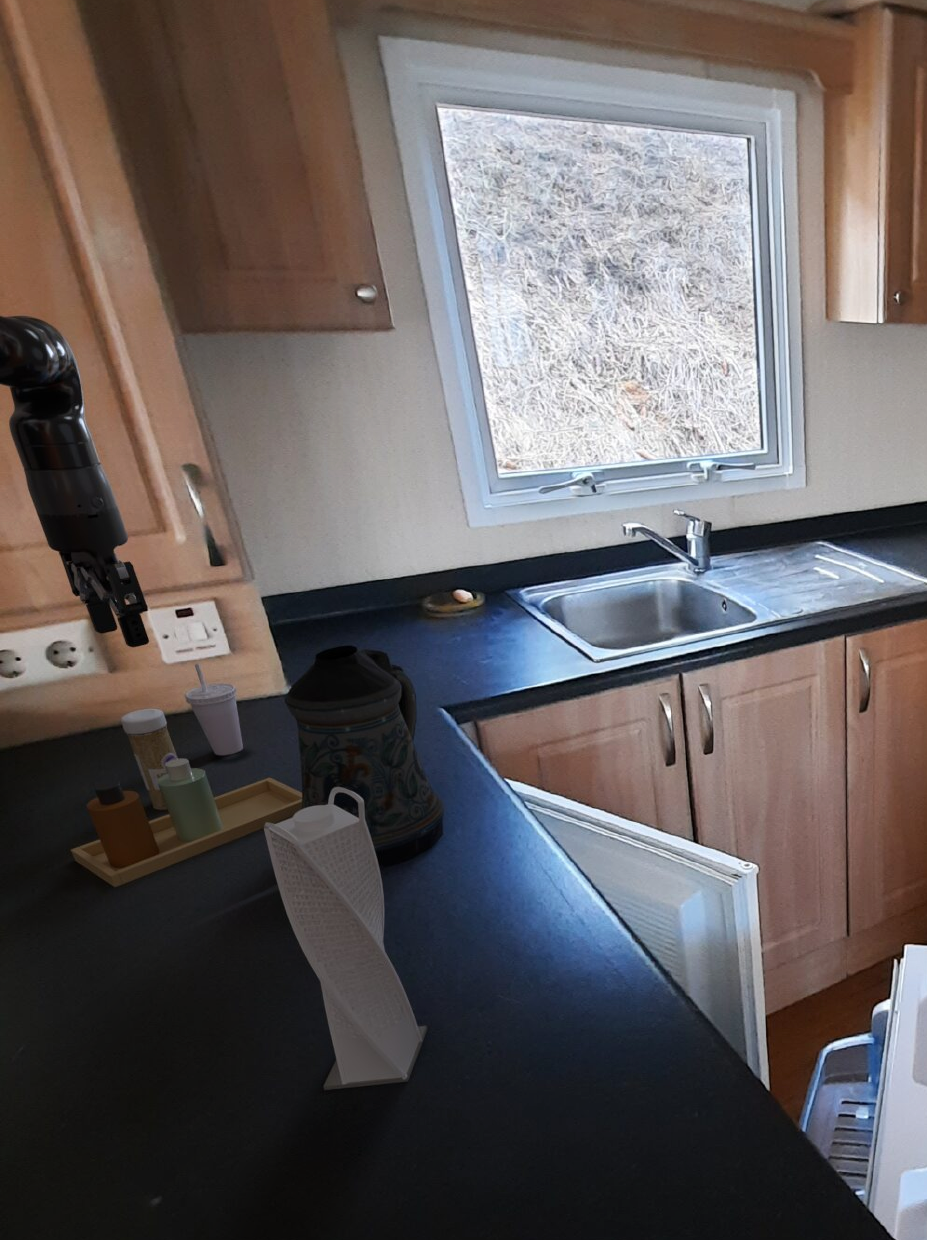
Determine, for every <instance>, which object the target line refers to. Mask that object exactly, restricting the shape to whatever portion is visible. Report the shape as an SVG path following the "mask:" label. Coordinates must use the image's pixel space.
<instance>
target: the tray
mask: <svg viewBox="0 0 927 1240" xmlns="http://www.w3.org/2000/svg"><path fill="white" fill-rule="evenodd" d="M214 799H215V802H216V805H217V808H218V811H219V814H220V817H221V820H222V823H223V826H224V828H223V830H220V831H218V832H215V833H213V834H210V835H207V836H205V837H202V838H200V839H197V840H195V841H192V842H184V841H180V840H179V839H178V838H177V835H176V832H175V829H174V827H173V824H172V821H171V818H170V816H169V813H168V814H165V815H162V816H159V817H157V818H154V819H152V820H148V822H149V824H150V827H151V830H152V832H153V835H154V838H155V840H156V843H157V846H158V848H159V854H158V855H156V856H153V857H151V858H148V859H146V860H143V861H141V862H138V863H135V864H133V865H130V866H128V867H125V868H115V867H112V866H111V865H110V863H109V861H108V858H107V856H106V853H105V851H104V849H103V846H102V844H101V841H100V839H96V840H93V841H91V842H88V843H86V844H83V845H80V846H77V847H75V848H71V849H70V852H71V853H72V856H73V859H74V861H75V862H77V863H78V864H79V865H81V866H83V867H84V868H86V869H87V870H88V871H90V872H92V873H93V874H94V875H96V876H97V877H99V878H100V879H102V880H103V881H105V882H106V883H108V884H109V885H111V886H112V887H113V888H117V887H120V886H122V885H125V884H127V883H130V882H132V881H135V880H138V879H140V878H142V877H144V876H148V875H150V874H152V873H154V872H158V871H160V870H162V869H165V868H168V867H169V866H172V865H175V864H177V863H180V862H182V861H185V860H188V859H189V858H193V857H195V856H197V855H200V854H202V853H204V852H208V851H209V850H212V849H215V848H217V847H220V846H222V845H224V844H227V843H230V842H233V841H234V840H238V839H240V838H242V837H245V836H247V835H249V834H252V833H255V832H257V831H260V830H262V829H264V825H265V823H266V822H269V823H272V824H277V823H280V822H282V821H285V820H288V819H290V818H293V816H294V814H295V813H297V812H298V811H300V810H301V809H302V791H299V790H297V789H295V788H293V787H291V786H288V785H287V784H284V783H282V782H280V781H278V780H276V779H274V778H272V777H267V778H264V779H261V780H258V781H256V782H254V783H251V784H248V785H245V786H242V787H239V788H237V789H234V790H231V791H229V792H226V793H224V794H221V795H218V796H214Z"/></svg>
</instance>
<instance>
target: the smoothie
mask: <svg viewBox="0 0 927 1240" xmlns="http://www.w3.org/2000/svg"><path fill="white" fill-rule="evenodd" d="M194 667H195V671H196V673H197V677H198V680H199V683H200V685H199V686H197V687H195V688H192V689H190V690H188V691H187V692H186V693H184V698H185V702H186V703H187V704H188V705H190V707H191V709H192V711H193V713H194V715H195V717H196V719H197V721H198V723H199V725H200V727H201V729H202V731H203V733H204V735H205V737H206V739H207V741H208V743H209V745H210V747H211V749H212V751H213V753H214V754H215V755H217V756H228V755H229V756H230V755H233V754H236V753H239V752H241V751H243V749H244V746H243V744H244V743H243V739H242V731H241V726H240V725H241V724H240V718H239V713H238V704H237V699H236V696H237V694H238V691H237V690H236V687H235V685H233V684H231V683H210V684H206V681H205V678H204V675H203V672H202V668H201V665H200V663H195V664H194Z"/></svg>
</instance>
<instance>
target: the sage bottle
mask: <svg viewBox="0 0 927 1240" xmlns="http://www.w3.org/2000/svg"><path fill="white" fill-rule="evenodd" d="M165 767H166V770H167V772H168V774H166V775H164V776H162V777H161V778H159V780H158V785H159V788H160V791H161V794H162V796H163V799H164V802H165V805H166V807H167V809H166V810H167V813H168V814H169V816H170V818H171V821H172V824H173V827H174V829H175V832H176V835H177V838H178V839H179V840H180V841H184V842H192V841H195V840H197V839H200V838H202V837H205V836H207V835H210V834H213V833H215V832H218V831H220V830H223V828H224V826H223V823H222V820H221V817H220V814H219V811H218V808H217V805H216V802H215V799H214V798H215V796H214V794H213V790H212V788H211V784H210V782H209V779H208V776H207V773H206V770H204V769H202V768H197V767H191V765H190V762H189V760H188V758H185V757H184V758H183V757H181V758H178V759H174V760H171V761H169V762H167V763H166V764H165Z"/></svg>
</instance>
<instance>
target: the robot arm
mask: <svg viewBox="0 0 927 1240" xmlns="http://www.w3.org/2000/svg"><path fill="white" fill-rule="evenodd" d="M0 385H2V386H6V387H9V391H10V394H11V398H12V403H13V407H14V410H13V412H12V414H11V416H10V417H9V421H8V425H9V431H10V435H11V438H12V441H13V443H14V446H15V450H16V452H17V454H18V457H19V460H20V463H21V465H22V468H23V472H24V475H25V481H26V486H27V489H28V492H29V495H30V498H31V501H32V503H33V506H34V509H35V511H36V514H37V518H38V520H39V523H40V525H41V526H40V527H41V529H42V531H43V534H44V537H45V540H46V542H47V544H48V547H49V548H50V550H53V551H55V552H58V554H59V556H60V560H61V562H62V565H63V568H64V571H65V574H66V578H67V581H68V582H69V585H70V588H71V592H72V594H73V595H74V596H75V597H79V600H80V602H81V603H82V604H83V605H85V608H86V610H87V612H88V615H89V618H90V621H91V623H92V626H93V629H94V631H95V632H96V633H99V634H102V635H103V634H107V633H112V632H116V631H117V630H118V625H119V628H120V631H121V633H122V636H123V640H124V643H125V645H126V646H128V647H129V648H138V647H142V646H146V645H149V643H150V640H149V636H148V633H147V630H146V626H145V624H144V621H143V617H142V615H141V614H144V613H145V612H148V611H149V607H148V604H147V601H146V598H145V595H144V593H143V591H142V587H141V585H140V582H139V579H138V577H137V574H136V571H135V567H134V565H133V564H132V562H131V561H124V562H122V560H119V558H118V556H117V554H116V553H115V549H116V548H117V547H121V546H123V545H125V544H126V543H128V540H129V536H128V533H127V530H126V528H125V525H124V521H123V519H122V515H121V512H120V509H119V506H118V503H117V500H116V497H115V494H114V491H113V488H112V485H111V482H110V480H109V478H108V476H107V474H106V472H105V470H104V468H103V466H102V463H101V461H100V456H99V455H98V451H97V449H96V445H95V442H94V439H93V436H92V434H91V431H90V429H89V427H88V423H87V417H86V409H85V399H84V392H83V385H82V378H81V374H80V369H79V365H78V362H77V359H76V356H75V354H74V351H73V349H72V347H71V345H70V343H69V341H68V340H67V339H66V338H65V336H64V335H63V334H62V333H61V332H60V331H59V330H58V329H57V328H56V327H54V326H53V325H52V324H50V323H49V322H47V321H46V320H43V319H41V318H37V317H34V316H30V315H10V316H2V315H0ZM126 600H127V601H128V602H129V603H128V604H127V602H126ZM114 615H115V616H116V618H115V616H114ZM116 620H117V621H116ZM117 622H118V623H117Z"/></svg>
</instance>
